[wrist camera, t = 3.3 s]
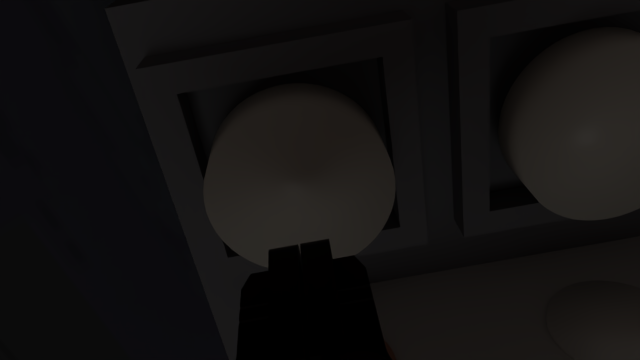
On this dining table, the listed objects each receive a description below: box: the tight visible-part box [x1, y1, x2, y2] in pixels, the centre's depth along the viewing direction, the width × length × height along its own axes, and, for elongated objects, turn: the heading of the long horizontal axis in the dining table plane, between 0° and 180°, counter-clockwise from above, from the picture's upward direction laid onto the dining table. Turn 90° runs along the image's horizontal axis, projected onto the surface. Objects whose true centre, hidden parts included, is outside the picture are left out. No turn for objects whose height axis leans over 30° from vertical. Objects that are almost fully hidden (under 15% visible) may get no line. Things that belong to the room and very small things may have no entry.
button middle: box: [498, 27, 640, 220], centre depth 17 cm, size 6×6×2 cm
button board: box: [105, 0, 640, 360], centre depth 18 cm, size 30×16×12 cm, turn 99°
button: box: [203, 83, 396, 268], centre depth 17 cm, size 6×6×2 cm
